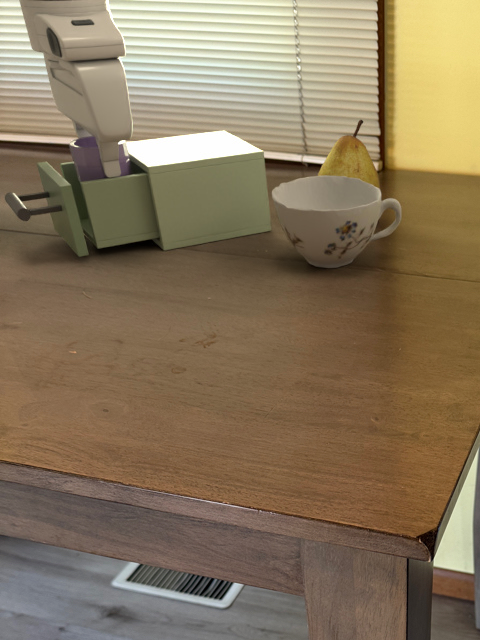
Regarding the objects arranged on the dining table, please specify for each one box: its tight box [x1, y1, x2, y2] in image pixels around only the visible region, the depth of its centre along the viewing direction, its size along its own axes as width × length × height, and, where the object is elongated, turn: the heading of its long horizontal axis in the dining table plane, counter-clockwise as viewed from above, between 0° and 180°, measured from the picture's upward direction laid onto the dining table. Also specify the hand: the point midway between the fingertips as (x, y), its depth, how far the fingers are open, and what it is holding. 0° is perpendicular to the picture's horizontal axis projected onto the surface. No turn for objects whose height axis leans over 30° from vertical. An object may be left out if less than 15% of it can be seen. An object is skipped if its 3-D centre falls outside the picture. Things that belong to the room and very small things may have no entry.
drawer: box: [4, 160, 160, 258], centre depth 92 cm, size 18×11×8 cm, turn 123°
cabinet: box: [126, 130, 272, 252], centre depth 97 cm, size 15×13×10 cm
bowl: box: [68, 136, 133, 182], centre depth 90 cm, size 6×6×4 cm
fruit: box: [317, 119, 381, 190], centre depth 99 cm, size 9×9×12 cm
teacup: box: [271, 175, 402, 269], centre depth 89 cm, size 15×12×8 cm
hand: (103, 168), depth 90 cm, fingers closed on bowl, 6 cm apart
